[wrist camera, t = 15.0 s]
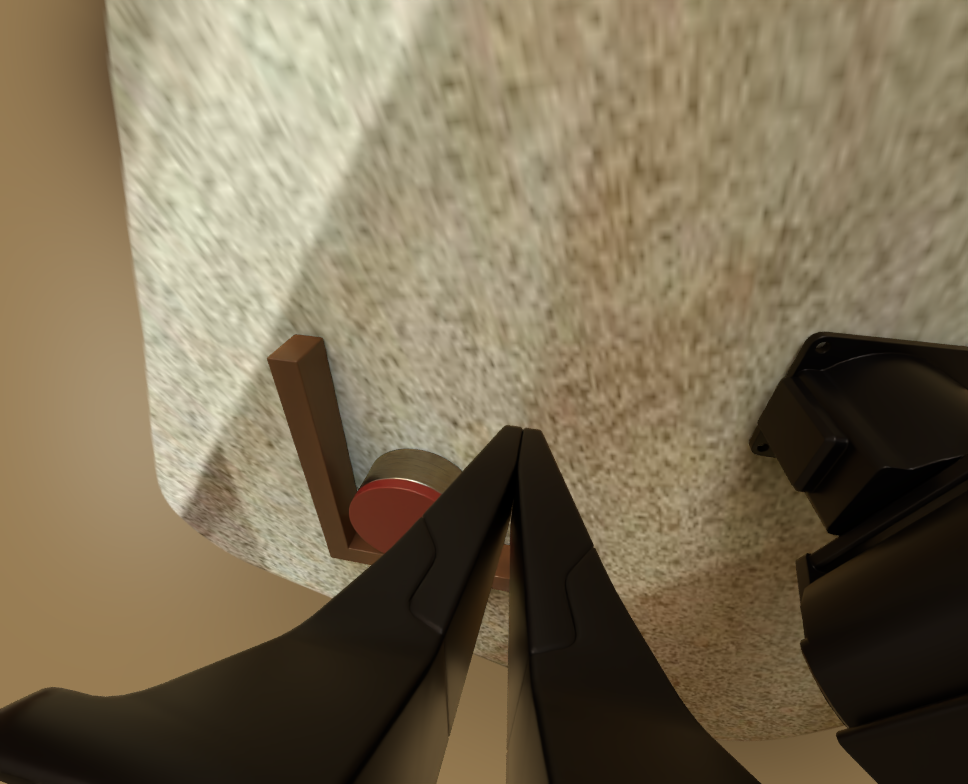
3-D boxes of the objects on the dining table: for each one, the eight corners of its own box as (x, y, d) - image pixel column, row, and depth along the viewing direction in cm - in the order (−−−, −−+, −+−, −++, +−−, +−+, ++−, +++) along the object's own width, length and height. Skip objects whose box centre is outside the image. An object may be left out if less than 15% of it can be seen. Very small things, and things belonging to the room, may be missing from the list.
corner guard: (598, 371, 19) (601, 402, 17) (552, 565, 29) (550, 600, 27) (294, 333, 21) (265, 357, 19) (346, 528, 31) (330, 557, 29)
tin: (475, 456, 24) (463, 498, 22) (474, 529, 28) (464, 572, 26) (362, 440, 25) (337, 479, 23) (377, 513, 29) (358, 553, 27)
